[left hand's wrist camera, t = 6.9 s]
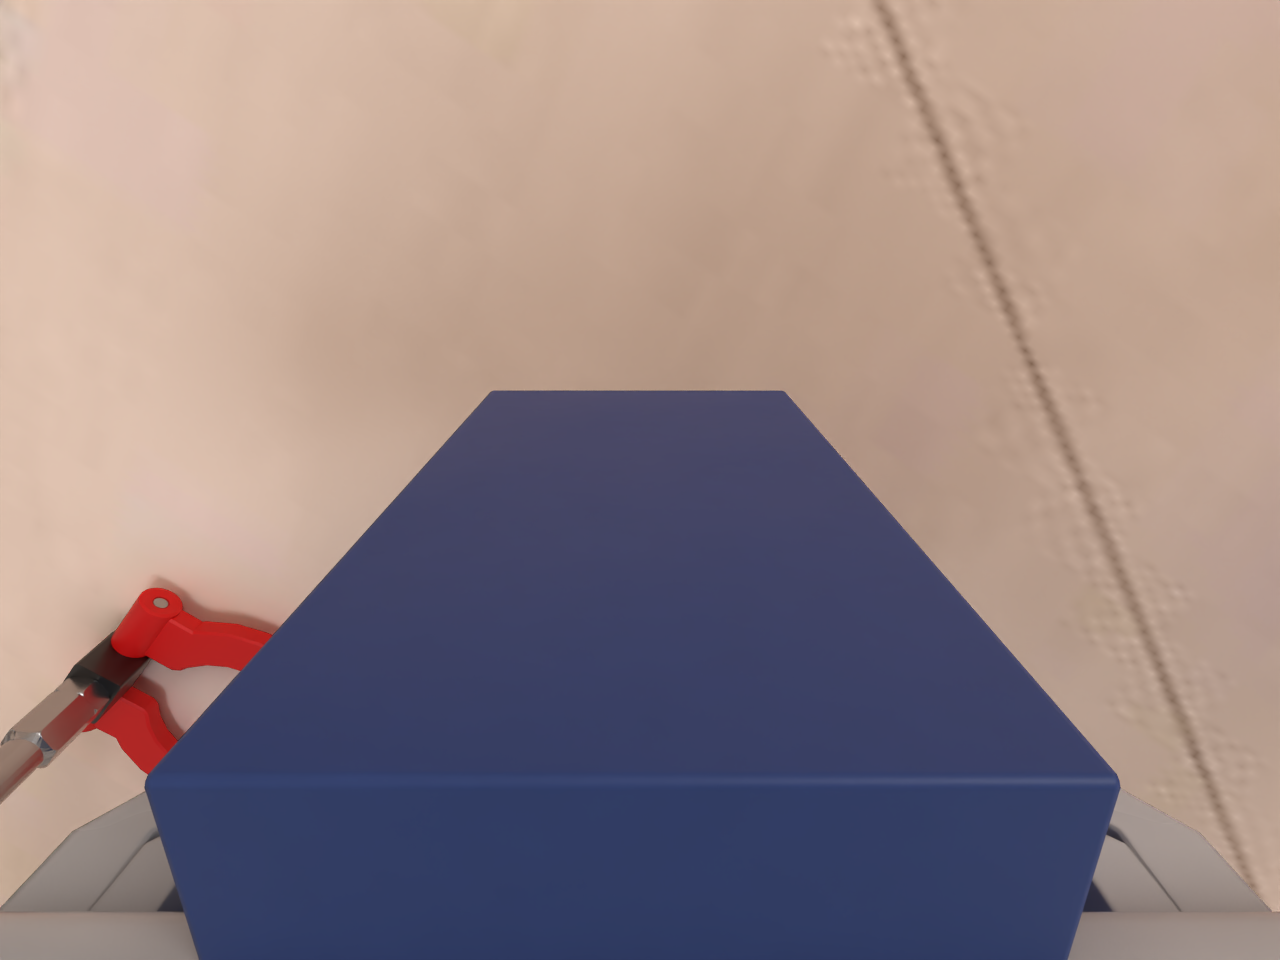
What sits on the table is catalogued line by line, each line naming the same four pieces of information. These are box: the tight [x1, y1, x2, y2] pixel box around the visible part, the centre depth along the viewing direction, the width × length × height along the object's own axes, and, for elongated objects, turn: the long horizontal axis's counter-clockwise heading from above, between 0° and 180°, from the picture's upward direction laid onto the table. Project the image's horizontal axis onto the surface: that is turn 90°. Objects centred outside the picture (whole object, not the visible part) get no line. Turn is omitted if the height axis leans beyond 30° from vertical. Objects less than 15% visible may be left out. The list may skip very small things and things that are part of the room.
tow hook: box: [0, 588, 272, 804], centre depth 21 cm, size 8×13×9 cm
